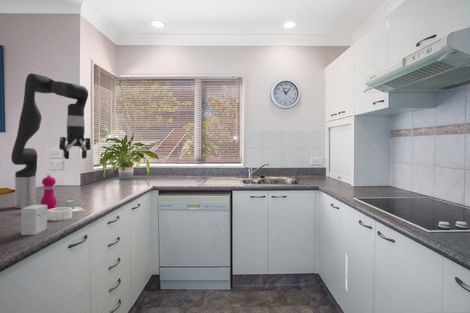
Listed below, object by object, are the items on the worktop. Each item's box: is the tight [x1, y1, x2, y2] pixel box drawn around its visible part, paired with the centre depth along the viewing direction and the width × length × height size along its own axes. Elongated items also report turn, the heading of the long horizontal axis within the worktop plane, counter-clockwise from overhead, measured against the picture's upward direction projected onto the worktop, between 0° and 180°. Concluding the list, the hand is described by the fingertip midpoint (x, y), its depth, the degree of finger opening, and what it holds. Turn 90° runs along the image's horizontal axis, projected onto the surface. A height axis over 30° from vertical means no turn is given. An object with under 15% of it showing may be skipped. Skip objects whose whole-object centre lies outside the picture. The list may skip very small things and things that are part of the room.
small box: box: [20, 204, 48, 236], centre depth 113 cm, size 8×6×10 cm
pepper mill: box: [40, 173, 58, 210], centre depth 147 cm, size 7×7×20 cm
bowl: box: [47, 206, 73, 222], centre depth 131 cm, size 10×10×5 cm
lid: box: [64, 199, 83, 214], centre depth 146 cm, size 12×12×5 cm
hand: (75, 158), depth 135 cm, fingers open, 8 cm apart
